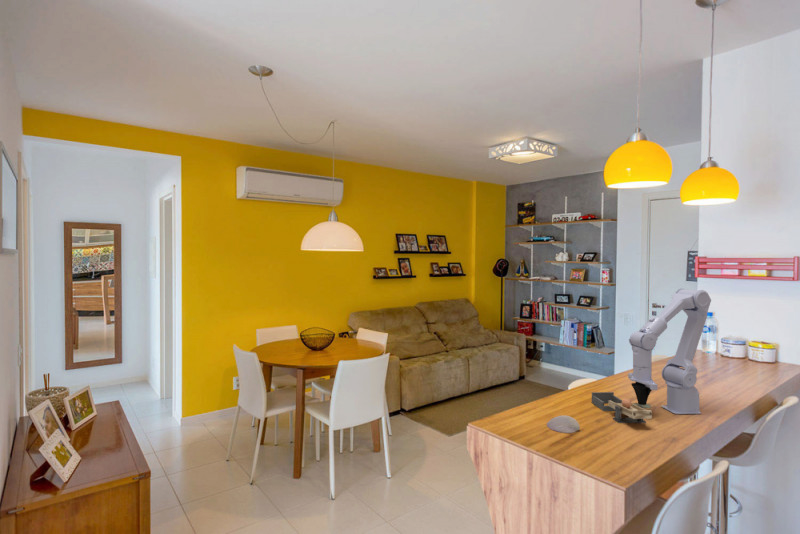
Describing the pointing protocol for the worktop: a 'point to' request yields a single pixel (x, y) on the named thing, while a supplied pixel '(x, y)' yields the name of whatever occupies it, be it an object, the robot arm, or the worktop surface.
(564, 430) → the seashell
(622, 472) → the worktop surface
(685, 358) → the robot arm
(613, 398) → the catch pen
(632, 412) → the lever
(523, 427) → the worktop surface
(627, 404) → the ball
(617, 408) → the pivot stand
